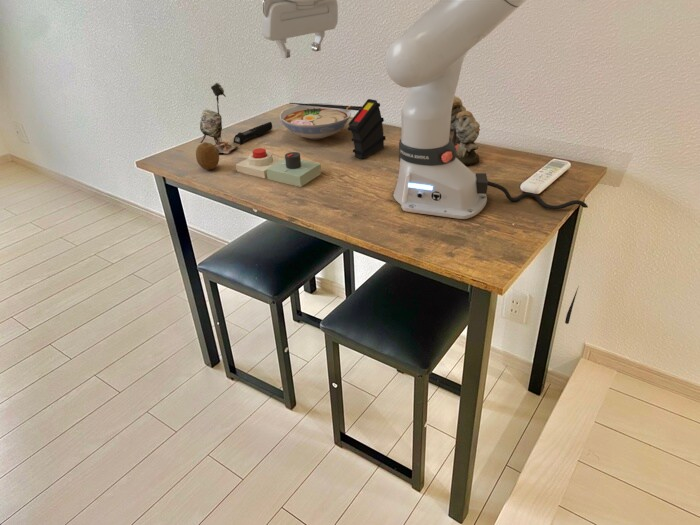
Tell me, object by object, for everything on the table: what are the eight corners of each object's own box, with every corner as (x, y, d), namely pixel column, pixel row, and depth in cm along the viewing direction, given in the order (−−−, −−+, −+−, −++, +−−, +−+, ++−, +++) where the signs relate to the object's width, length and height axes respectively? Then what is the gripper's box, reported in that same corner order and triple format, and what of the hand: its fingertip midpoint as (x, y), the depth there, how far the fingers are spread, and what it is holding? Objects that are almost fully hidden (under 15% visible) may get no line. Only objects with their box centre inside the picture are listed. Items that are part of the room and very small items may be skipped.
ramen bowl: (265, 143, 163) (261, 118, 158) (299, 121, 180) (296, 97, 175) (338, 153, 154) (337, 126, 150) (366, 128, 171) (365, 103, 167)
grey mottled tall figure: (214, 143, 165) (202, 78, 154) (241, 149, 160) (231, 82, 149) (195, 152, 159) (181, 85, 148) (223, 158, 154) (211, 89, 143)
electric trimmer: (276, 131, 172) (274, 122, 171) (241, 145, 162) (239, 135, 160) (267, 129, 174) (266, 120, 173) (232, 143, 164) (231, 133, 162)
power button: (269, 155, 145) (268, 149, 144) (260, 160, 142) (260, 153, 141) (259, 153, 146) (258, 147, 145) (250, 157, 144) (249, 151, 143)
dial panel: (321, 173, 142) (320, 163, 140) (300, 187, 135) (299, 176, 133) (289, 166, 147) (287, 156, 145) (267, 179, 140) (266, 168, 138)
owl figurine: (410, 158, 149) (412, 98, 139) (428, 145, 157) (430, 87, 147) (470, 170, 140) (476, 107, 131) (485, 155, 149) (492, 95, 139)
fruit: (196, 168, 148) (190, 141, 144) (218, 163, 151) (213, 136, 146) (201, 175, 144) (196, 148, 139) (224, 170, 146) (219, 143, 142)
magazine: (391, 139, 157) (378, 99, 146) (368, 170, 153) (353, 131, 141) (381, 137, 159) (367, 97, 148) (358, 167, 155) (342, 129, 143)
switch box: (286, 166, 147) (284, 152, 145) (264, 178, 141) (262, 164, 138) (258, 160, 152) (257, 146, 150) (236, 171, 145) (234, 158, 143)
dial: (292, 162, 142) (290, 149, 140) (304, 164, 140) (302, 152, 138) (283, 167, 139) (281, 155, 137) (295, 170, 137) (293, 157, 135)
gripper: (271, -3, 108) (274, 65, 117) (342, -13, 120) (340, 50, 128) (253, -8, 112) (257, 58, 120) (324, -17, 124) (323, 44, 132)
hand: (301, 54), depth 125 cm, fingers open, 8 cm apart
